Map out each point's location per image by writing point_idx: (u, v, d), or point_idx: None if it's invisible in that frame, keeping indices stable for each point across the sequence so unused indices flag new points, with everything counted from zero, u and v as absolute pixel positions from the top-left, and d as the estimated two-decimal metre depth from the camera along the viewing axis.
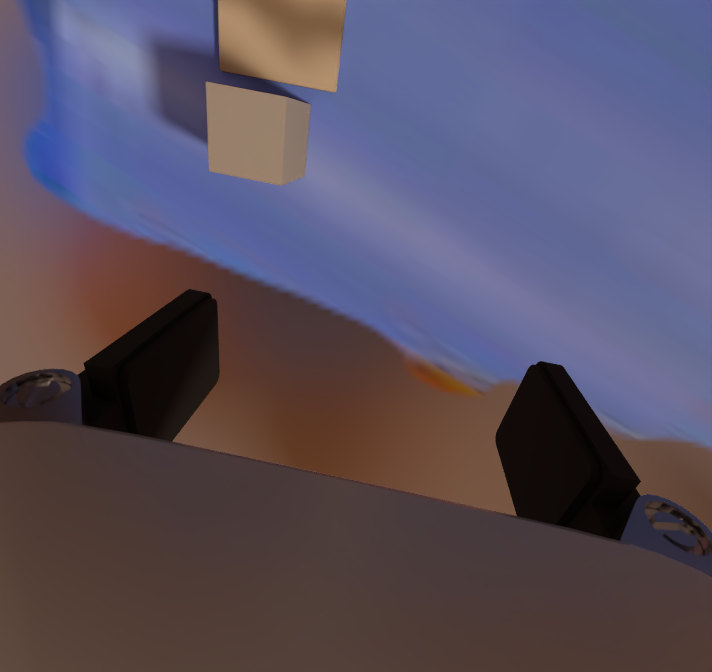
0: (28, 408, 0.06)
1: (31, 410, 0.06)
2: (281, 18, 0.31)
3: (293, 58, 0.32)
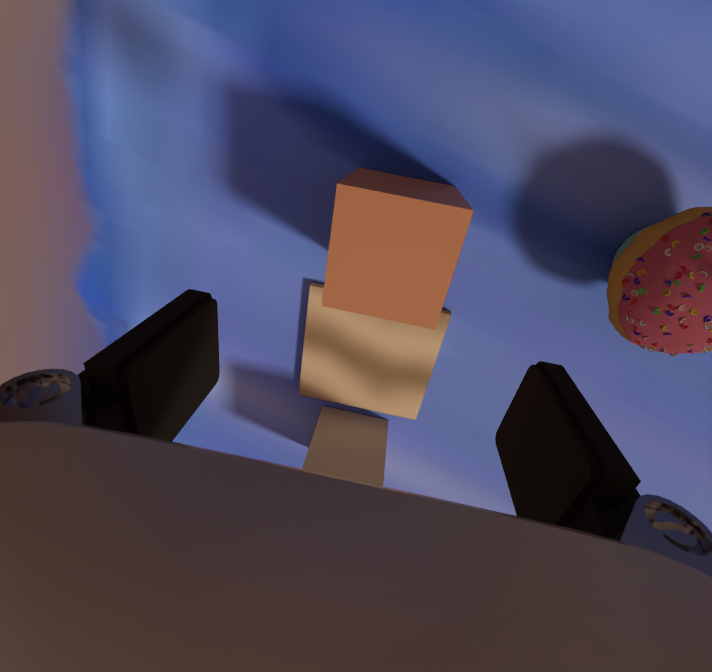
0: (28, 408, 0.06)
1: (31, 410, 0.06)
2: (366, 368, 0.31)
3: (376, 394, 0.32)
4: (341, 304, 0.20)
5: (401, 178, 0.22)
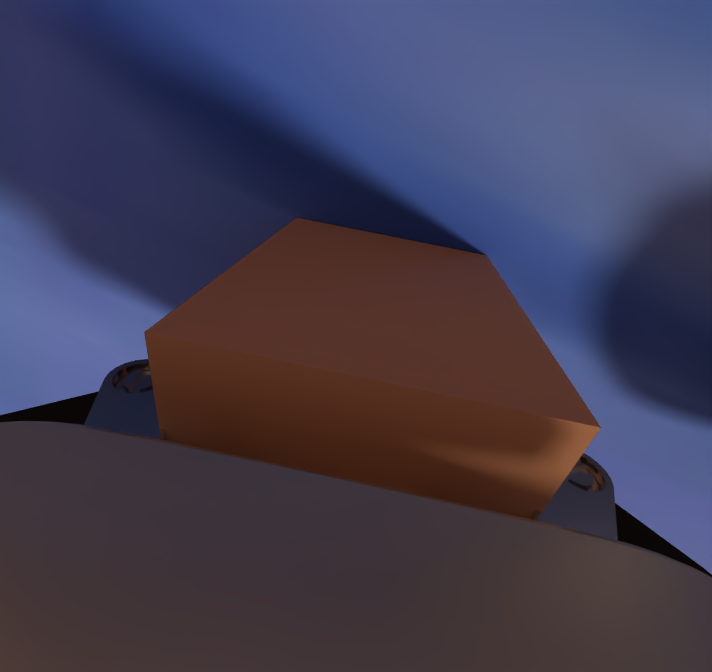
0: (130, 393, 0.07)
1: (132, 396, 0.06)
2: None
3: None
4: None
5: (378, 246, 0.11)
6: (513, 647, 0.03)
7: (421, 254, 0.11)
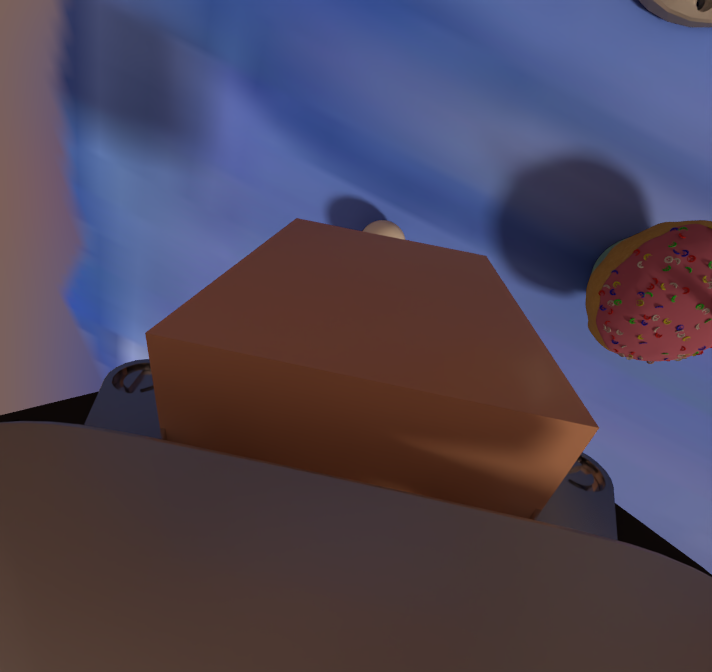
0: (130, 393, 0.07)
1: (132, 396, 0.07)
2: None
3: None
4: None
5: (378, 246, 0.11)
6: (513, 647, 0.03)
7: (421, 255, 0.11)
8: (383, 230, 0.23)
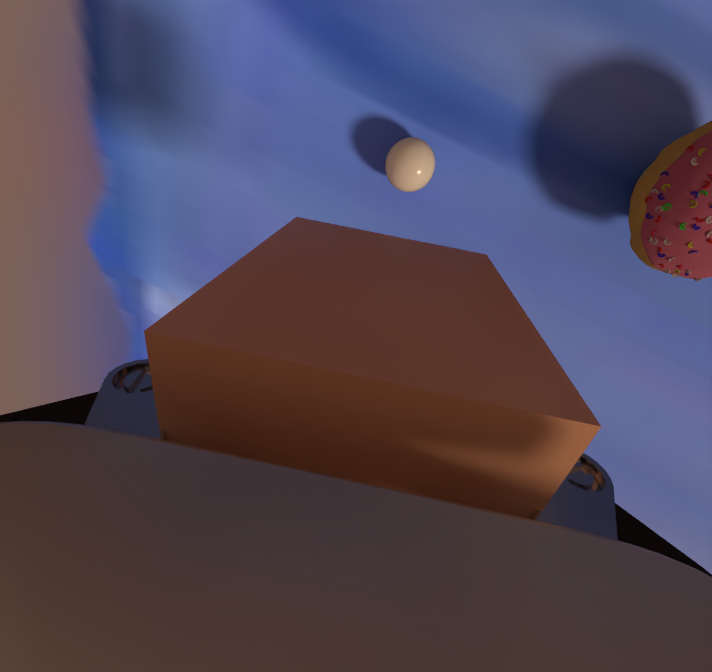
0: (130, 393, 0.07)
1: (132, 396, 0.06)
2: None
3: None
4: None
5: (378, 245, 0.11)
6: (513, 647, 0.03)
7: (421, 253, 0.11)
8: (412, 145, 0.22)
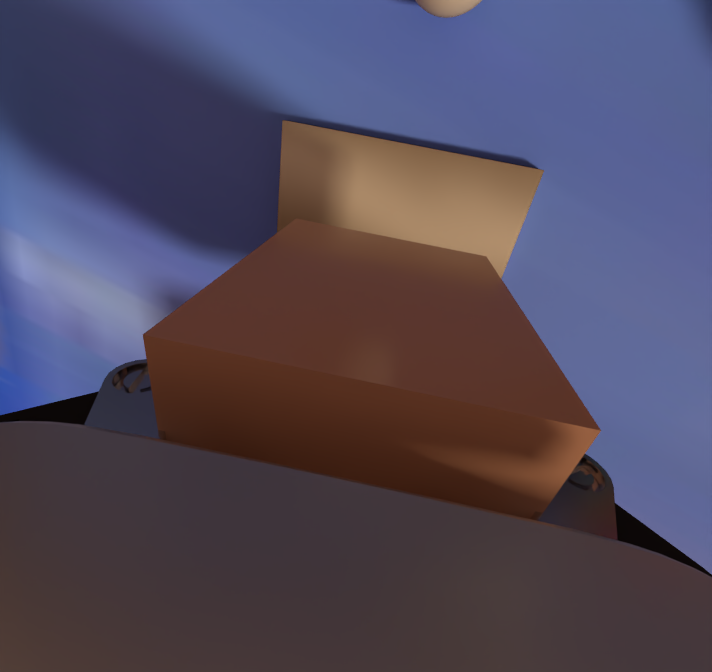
0: (130, 393, 0.07)
1: (132, 396, 0.06)
2: None
3: None
4: None
5: (377, 247, 0.11)
6: (513, 647, 0.03)
7: (421, 255, 0.11)
8: None
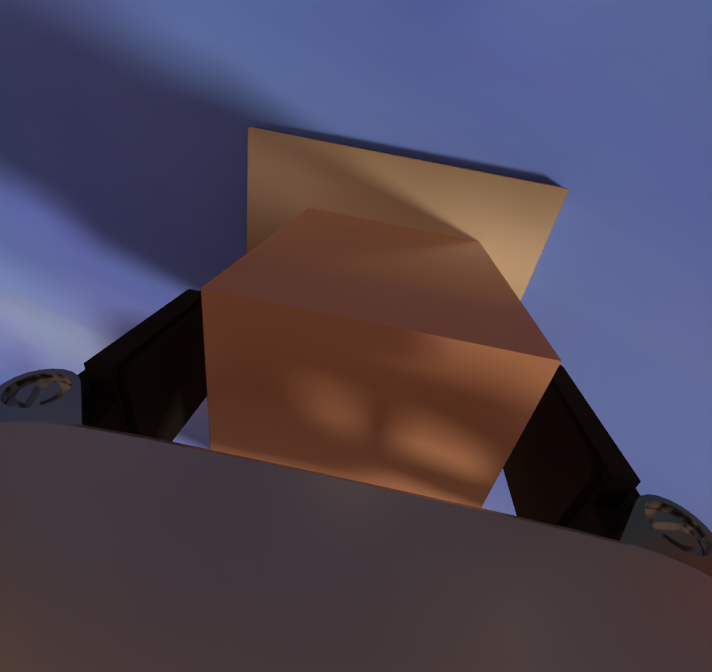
0: (28, 408, 0.06)
1: (31, 410, 0.06)
2: None
3: None
4: None
5: (382, 232, 0.12)
6: (513, 647, 0.03)
7: (420, 239, 0.12)
8: None
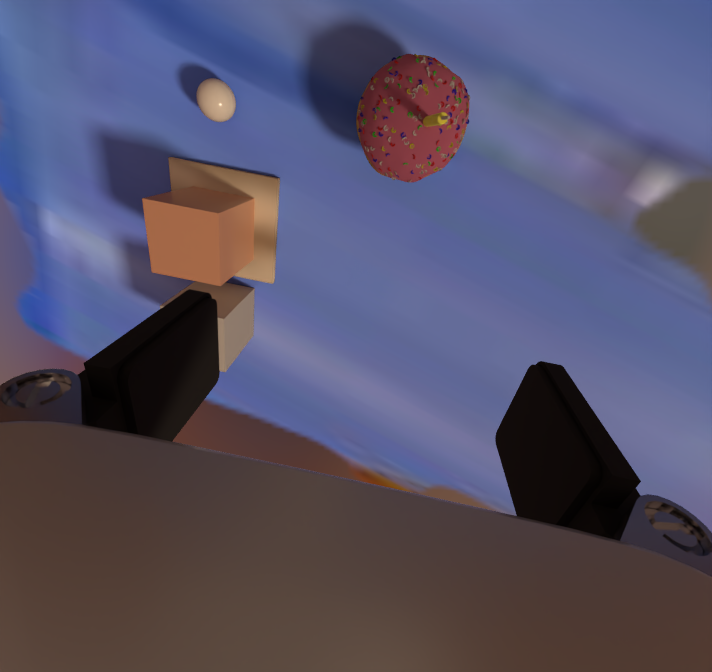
0: (28, 408, 0.06)
1: (31, 410, 0.06)
2: None
3: None
4: (162, 271, 0.32)
5: (213, 193, 0.35)
6: (513, 647, 0.03)
7: (227, 196, 0.35)
8: (208, 82, 0.30)
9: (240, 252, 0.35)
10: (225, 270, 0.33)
